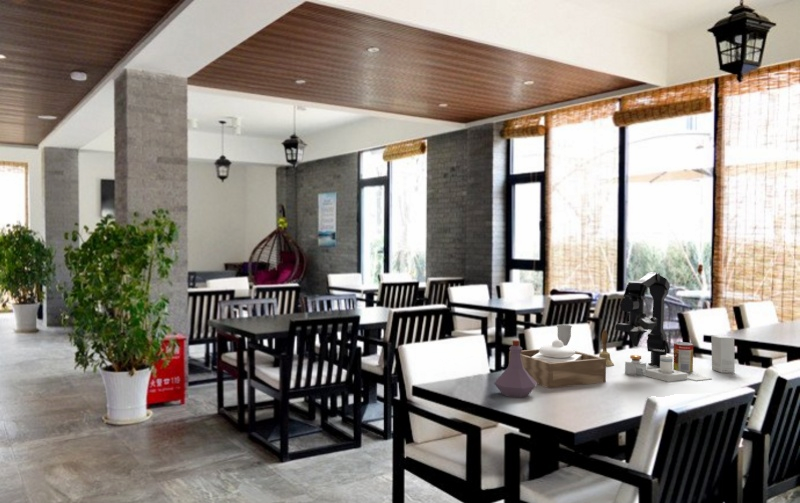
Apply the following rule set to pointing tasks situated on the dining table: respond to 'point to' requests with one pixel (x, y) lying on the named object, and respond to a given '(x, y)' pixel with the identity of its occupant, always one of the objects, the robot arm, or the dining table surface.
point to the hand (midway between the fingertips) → (635, 346)
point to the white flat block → (666, 375)
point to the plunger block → (635, 368)
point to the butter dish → (557, 353)
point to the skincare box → (723, 353)
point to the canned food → (683, 357)
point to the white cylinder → (666, 363)
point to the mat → (697, 377)
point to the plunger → (635, 358)
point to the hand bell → (605, 350)
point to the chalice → (564, 333)
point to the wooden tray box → (564, 370)
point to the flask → (515, 376)
